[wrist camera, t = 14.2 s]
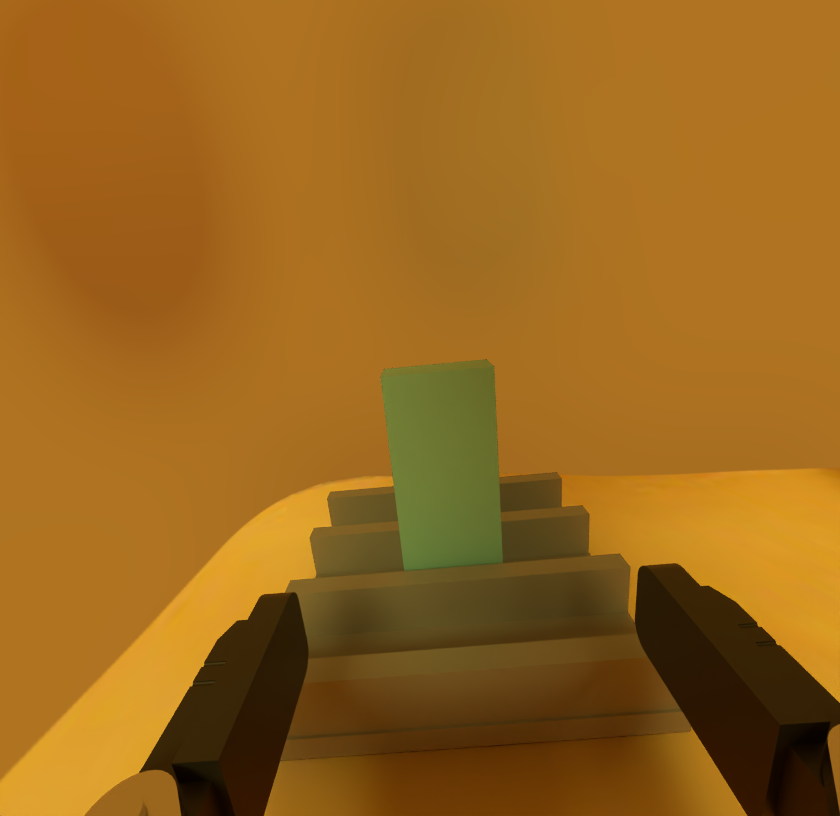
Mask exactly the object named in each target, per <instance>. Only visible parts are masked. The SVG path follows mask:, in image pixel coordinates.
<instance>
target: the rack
mask: <svg viewBox="0 0 840 816" xmlns="http://www.w3.org/2000/svg"><path fill="white" fill-rule="evenodd" d="M499 488H500V510H501V533H502V556H503V563H498V564H486V565H474V566H461V567H449V568H437V569H425V570H412V571H404V565H403V557H402V548H401V540H400V532H399V524H398V516H397V507H396V499H395V491H394V486H393V487H381V488H369V489H358V490H346V491H335V492H330V494H329V496H328V498H327V501H328V507H329V512H330V518H331V524H332V527H320V528H314V529H313V531H312V534H311V536H310V542H311V547H312V553H313V558H314V563H315V568H316V574H317V575H316V578H314V579H302V580H290V583H289V585H288V587H287V589H286V591H285V593H289V592H295V593H296V594H297V596H298V598H299V603H300V608H301V612H302V617H303V622H304V627H305V632H306V636H307V641H308V651H309V656H308V667H307V672H306V676H305V679H304V683H303V686H302V689H301V693H300V696H299V699H298V703H297V706H296V709H295V713H294V716H293V719H292V723H291V726H290V729H289V733H288V736H287V739H286V743H285V746H284V749H283V753H282V756H281V759H280V761H283V760H297V759H311V758H325V757H339V756H353V755H367V754H381V753H395V752H409V751H423V750H437V749H451V748H465V747H479V746H493V745H507V744H521V743H535V742H549V741H563V740H577V739H591V738H605V737H619V736H633V735H647V734H662V733H676V732H690V730H691V725H690V723H689V722H688V720H687V719H686V717H685V715H684V714H683V712H682V711H681V709H680V707H679V706H678V704H677V703H676V701H675V699H674V698H673V696H672V695H671V693H670V691H669V690H668V688H667V687H666V685H665V684H664V682H663V680H662V679H661V677H660V676H659V674H658V672H657V671H656V669H655V668H654V666H653V664H652V663H651V661H650V660H649V658H648V657H647V655H646V653H645V652H644V650H643V648H642V646H641V644H640V641H639V638H638V635H637V631H636V626H635V622H634V621H633V619H632V618H631V616H630V615H629V613H628V599H629V581H630V566H629V565H628V564H627V562H626V561H625V560H624V558H623V557H622V556H621V555H620V554H609V555H596V556H591V555H590V554H589V552H588V549H589V513H588V512H587V511H586V509H585V508H584V507H583V506H582V505H581V506H569V507H562V478H561V477H560V476H559V475H558V473H557V472H555V473H543V474H532V475H520V476H508V477H499Z"/></svg>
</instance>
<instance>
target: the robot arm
mask: <svg viewBox="0 0 840 816" xmlns="http://www.w3.org/2000/svg"><path fill="white" fill-rule="evenodd" d="M635 626H636V631H637V635H638V638H639V641H640V644H641V646H642V648H643V650H644V652H645V653H646V655H647V657H648V658H649V660H650V661H651V663H652V664H653V666H654V668H655V669H656V671H657V672H658V674H659V676H660V677H661V679H662V680H663V682H664V684H665V685H666V687H667V688H668V690H669V691H670V693H671V695H672V696H673V698H674V699H675V701H676V703H677V704H678V706H679V707H680V709H681V711H682V712H683V714H684V715H685V717H686V719H687V720H688V722H689V723H690V725H691V726H692V728H693V730H694V731H695V733H696V734H697V736H698V738H699V739H700V741H701V742H702V744H703V746H704V747H705V749H706V750H707V752H708V753H709V755H710V757H711V758H712V760H713V761H714V763H715V765H716V766H717V768H718V769H719V771H720V773H721V774H722V776H723V777H724V779H725V780H726V782H727V784H728V785H729V787H730V788H731V790H732V792H733V793H734V795H735V796H736V798H737V800H738V801H739V803H740V804H741V806H742V807H743V809H744V811H745V812H746V814H747V815H748V816H840V703H839V702H838V701H837V700H836V699H835V698H834V697H833V696H832V695H831V694H830V693H829V692H828V691H827V690H826V689H825V688H824V687H823V686H822V685H821V684H820V683H819V682H817V681H816V680H815V679H814V678H813V677H812V676H811V675H810V674H809V673H808V672H807V671H806V670H805V669H804V668H803V667H802V666H801V665H800V664H799V663H798V662H797V661H796V660H795V659H794V658H793V657H792V656H791V655H790V654H789V653H788V652H787V651H786V650H785V649H784V648H783V647H781V646H780V645H777V644H776V641H775V640H774V639H773V638H772V637H771V636H770V635H769V634H768V633H767V632H766V631H765V630H764V629H763V628H762V627H758V625H757V622H756V621H755V620H754V619H753V618H752V617H751V616H750V615H749V614H748V613H747V612H745V611H744V610H743V609H742V608H741V607H740V606H739V605H738V604H737V603H736V602H735V601H733V600H732V599H730V598H728V597H727V596H725V595H723V594H722V593H720V592H718V591H717V590H715V589H713V588H712V587H710V586H700V585H699V584H698V583H697V582H696V581H695V580H694V579H693V578H692V577H691V576H690V575H689V574H688V573H687V572H686V571H685V569H684V568H682V567H681V566H680V565H678V564H675V563H673V564H660V565H648V566H641V567H640V568H639V571H638V580H637V596H636V612H635ZM308 656H309V651H308V641H307V636H306V632H305V627H304V622H303V617H302V612H301V608H300V603H299V598H298V596H297V594H296V593H295V592H289V593H276V594H264V595H262V596H261V597H260V598H259V599H258V601H257V603H256V605H255V607H254V609H253V611H252V612H251V614H250V616H249V618H248V620H239V621H236V622H235V623H234V624H233V625H232V626H231V627H230V628H229V629H228V630H227V631H226V632H225V633H224V634H223V635H222V636H221V637H220V638H219V639H218V640H217V642H216V643H215V645H214V647H213V648H212V650H211V652H210V654H209V655H208V657H207V659H206V660H205V662H204V667H201V669H200V671H199V672H198V674H197V676H196V677H195V679H194V681H193V686H192V687H190V688H189V689H188V691H187V693H186V694H185V696H184V698H183V700H182V701H181V703H180V705H179V706H178V708H177V710H176V711H175V713H174V715H173V717H172V718H171V720H170V722H169V723H168V725H167V727H166V728H165V730H164V732H163V734H162V735H161V737H160V739H159V740H158V742H157V744H156V745H155V747H154V749H153V751H152V752H151V754H150V756H149V757H148V759H147V761H146V763H145V764H144V766H143V767H142V769H141V770H140V772H139V773H138V774H136V775H134V776H131V777H129V778H128V779H126V780H124V781H122V782H121V783H119V784H118V785H116V786H115V787H113V788H112V789H111V790H110V791H108V792H107V793H106V794H105V795H103V796H102V797H101V798H100V799H99V800H98V801H97V802H96V803H95V804H94V805H93V806H92V807H91V809H90V810H89V811H88V812H87V813H86V814H85V816H264V812H265V809H266V806H267V802H268V799H269V796H270V793H271V789H272V786H273V783H274V779H275V776H276V773H277V769H278V766H279V763H280V759H281V756H282V753H283V749H284V746H285V743H286V739H287V736H288V733H289V729H290V726H291V723H292V719H293V716H294V713H295V709H296V706H297V703H298V699H299V696H300V693H301V689H302V686H303V683H304V679H305V676H306V672H307V667H308Z"/></svg>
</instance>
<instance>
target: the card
mask: <svg viewBox="0 0 840 816" xmlns="http://www.w3.org/2000/svg"><path fill="white" fill-rule="evenodd" d="M381 384H382V392H383V400H384V409H385V417H386V425H387V434H388V442H389V450H390V458H391V466H392V475H393V483H394V491H395V499H396V507H397V516H398V524H399V532H400V540H401V548H402V557H403V565H404V571H412V570H425V569H437V568H449V567H461V566H474V565H486V564H498V563H503V556H502V533H501V510H500V488H499V465H498V443H497V421H496V397H495V374H494V366H493V365H492V364H491V363H490V362H489V361H488V360H487V359H485V360H474V361H464V362H453V363H442V364H432V365H421V366H411V367H400V368H390V369H384V370H383V373H382V375H381Z"/></svg>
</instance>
